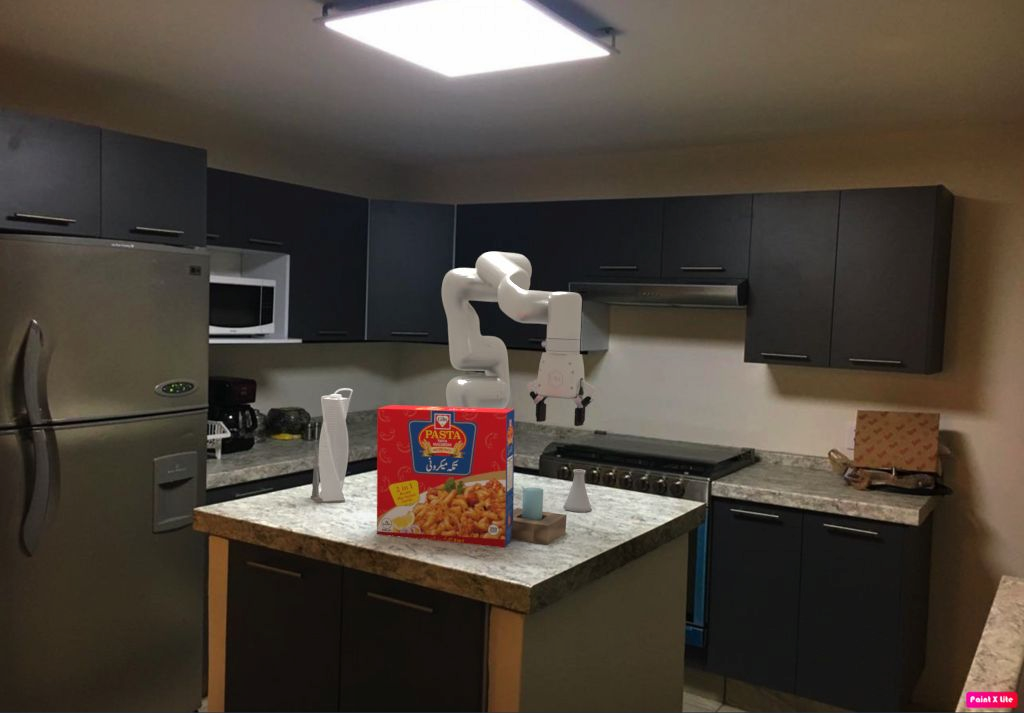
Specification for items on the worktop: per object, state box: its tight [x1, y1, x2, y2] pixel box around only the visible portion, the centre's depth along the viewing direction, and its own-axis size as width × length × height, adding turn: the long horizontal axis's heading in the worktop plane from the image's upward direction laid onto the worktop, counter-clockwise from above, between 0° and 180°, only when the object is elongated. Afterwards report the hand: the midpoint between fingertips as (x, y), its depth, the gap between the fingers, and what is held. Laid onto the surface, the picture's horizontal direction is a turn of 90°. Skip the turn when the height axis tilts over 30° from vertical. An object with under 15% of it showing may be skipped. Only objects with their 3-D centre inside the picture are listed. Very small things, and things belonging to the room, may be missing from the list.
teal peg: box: [521, 487, 544, 521], centre depth 186 cm, size 4×4×10 cm
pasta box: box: [376, 404, 515, 548], centre depth 181 cm, size 28×8×28 cm, turn 78°
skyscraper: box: [310, 387, 354, 504], centre depth 210 cm, size 8×8×28 cm
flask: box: [563, 468, 592, 513], centre depth 213 cm, size 7×7×10 cm
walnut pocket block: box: [512, 507, 567, 545], centre depth 186 cm, size 12×12×4 cm
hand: (559, 423), depth 190 cm, fingers open, 9 cm apart
